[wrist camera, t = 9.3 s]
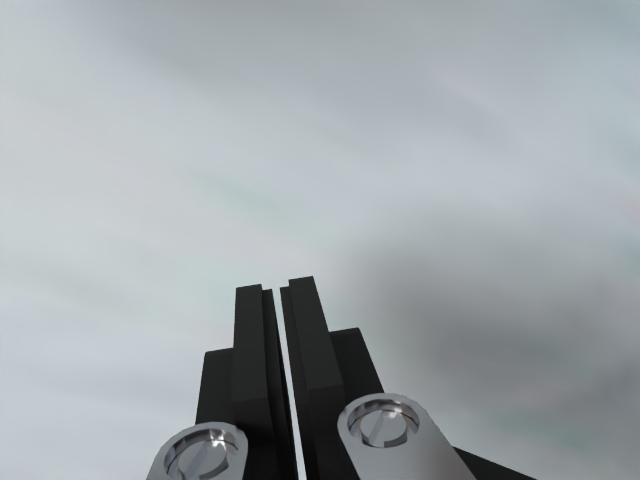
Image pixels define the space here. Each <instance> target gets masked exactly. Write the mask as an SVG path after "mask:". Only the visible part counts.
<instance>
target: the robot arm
mask: <svg viewBox="0 0 640 480" xmlns="http://www.w3.org/2000/svg"><path fill="white" fill-rule="evenodd" d="M280 293H281V301H282V308H283V316H284V323H285V331H286V338H287V346H288V353H289V361H290V368H291V376H292V383H293V391H294V398H295V405H296V411H297V418H298V425H299V431H300V438H301V444H302V451H303V458H304V464H305V471H306V478H307V480H536V479H534V478H531V477H529V476H526V475H524V474H521V473H519V472H516V471H514V470H511V469H509V468H506V467H504V466H501V465H499V464H496V463H494V462H491V461H489V460H486V459H484V458H481V457H479V456H476V455H474V454H471V453H469V452H466V451H463V450H461V449H458V448H456V447H453V446H451V444H450V443H449V442H448V440H447V439H446V438H445V436H444V435H443V434H442V432H441V431H440V430H439V428H438V427H437V425H436V424H435V423H434V421H433V420H432V419H431V417H430V416H429V415H428V413H427V412H426V411H425V409H424V408H422V407H421V406H420V405H419V404H418V403H417V402H416V401H414V400H412V399H410V398H408V397H406V396H402V395H398V394H393V393H384V390H383V388H382V385H381V383H380V380H379V377H378V375H377V372H376V370H375V367H374V365H373V362H372V360H371V357H370V355H369V352H368V349H367V347H366V344H365V342H364V339H363V337H362V334H361V332H360V330H359V328H351V329H345V330H339V331H333V332H329V331H328V327H327V324H326V320H325V317H324V313H323V310H322V306H321V303H320V299H319V295H318V292H317V288H316V285H315V281H314V278H313V276H310V277H303V278H297V279H290V280H289V286H288V287H281V288H280ZM146 480H299V478H298V470H297V461H296V453H295V444H294V436H293V427H292V419H291V410H290V403H289V395H288V389H287V382H286V376H285V370H284V363H283V357H282V350H281V344H280V337H279V331H278V324H277V318H276V312H275V305H274V299H273V292H272V289H268V290H262V285H261V284H257V285H251V286H244V287H237V288H236V301H235V323H234V345H233V348H227V349H221V350H215V351H209V352H206V353H205V356H204V363H203V371H202V378H201V385H200V393H199V400H198V408H197V415H196V422H195V426H192V427H189V428H187V429H184V430H182V431H181V432H179V433H178V434H176V435H174V436H173V437H171V438H170V439H169V440H168V441H167V442H166V443H165V444H164V445H163V446H162V447H161V449H160V450H159V452H158V454H157V455H156V457H155V459H154V461H153V464H152V466H151V469H150V471H149V473H148V476H147V478H146Z"/></svg>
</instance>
